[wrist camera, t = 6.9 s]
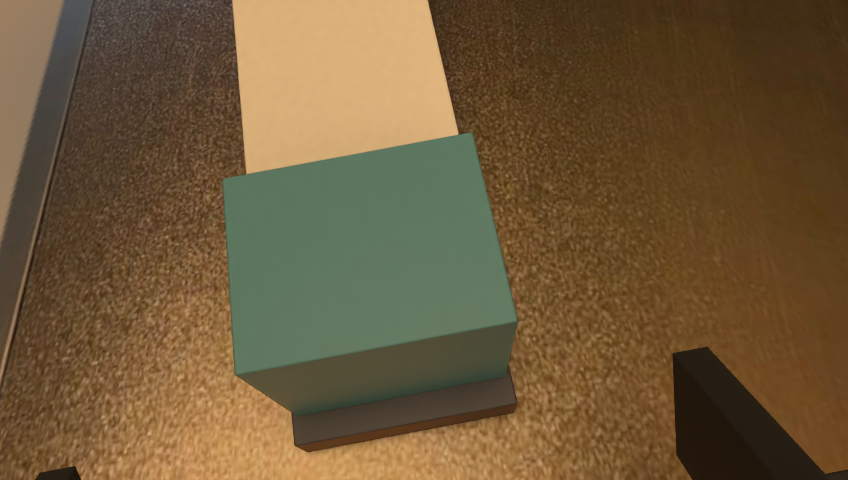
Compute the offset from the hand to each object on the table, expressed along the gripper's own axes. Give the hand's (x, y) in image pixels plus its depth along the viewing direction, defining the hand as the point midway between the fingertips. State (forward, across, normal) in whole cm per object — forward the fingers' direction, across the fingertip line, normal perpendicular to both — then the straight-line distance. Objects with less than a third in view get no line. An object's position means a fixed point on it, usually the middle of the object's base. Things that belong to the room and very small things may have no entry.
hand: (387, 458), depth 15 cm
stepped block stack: (+18, 0, +2) cm, 18 cm away
